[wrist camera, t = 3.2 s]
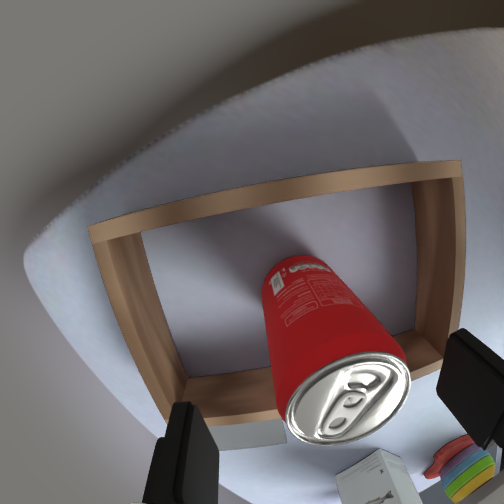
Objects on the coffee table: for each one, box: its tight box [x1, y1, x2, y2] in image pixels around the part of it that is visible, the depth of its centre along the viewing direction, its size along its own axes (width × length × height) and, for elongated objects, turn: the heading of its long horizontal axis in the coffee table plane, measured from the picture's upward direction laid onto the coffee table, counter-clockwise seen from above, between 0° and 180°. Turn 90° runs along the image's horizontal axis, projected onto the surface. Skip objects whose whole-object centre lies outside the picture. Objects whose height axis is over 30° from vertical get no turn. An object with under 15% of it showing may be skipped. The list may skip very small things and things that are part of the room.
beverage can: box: [262, 255, 411, 446], centre depth 14 cm, size 5×5×12 cm
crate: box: [88, 160, 466, 427], centre depth 17 cm, size 22×15×5 cm
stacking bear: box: [424, 435, 495, 504], centre depth 20 cm, size 11×10×18 cm
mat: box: [208, 418, 287, 451], centre depth 23 cm, size 8×8×1 cm
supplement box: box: [335, 449, 423, 504], centre depth 21 cm, size 7×7×13 cm
